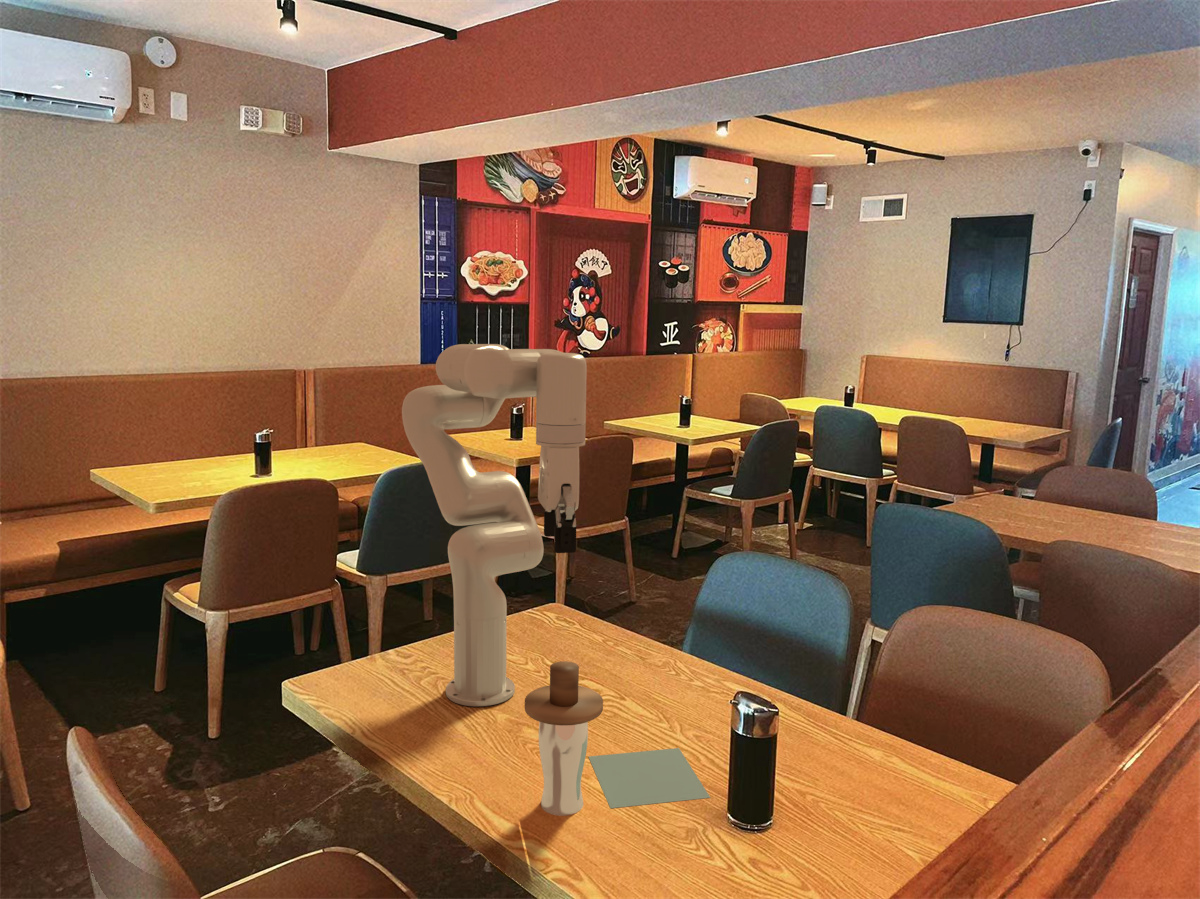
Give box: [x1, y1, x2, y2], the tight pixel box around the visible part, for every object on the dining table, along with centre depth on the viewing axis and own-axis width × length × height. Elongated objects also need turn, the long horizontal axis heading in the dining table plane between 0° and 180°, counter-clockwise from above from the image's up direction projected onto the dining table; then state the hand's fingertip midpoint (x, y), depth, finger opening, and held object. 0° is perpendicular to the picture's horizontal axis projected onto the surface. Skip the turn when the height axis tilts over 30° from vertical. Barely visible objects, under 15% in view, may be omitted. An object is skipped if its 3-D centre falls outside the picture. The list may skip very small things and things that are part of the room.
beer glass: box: [538, 721, 589, 817], centre depth 126 cm, size 7×7×15 cm
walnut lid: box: [524, 660, 604, 725], centre depth 124 cm, size 11×11×6 cm
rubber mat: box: [587, 747, 711, 810], centre depth 135 cm, size 15×15×1 cm
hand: (559, 543), depth 138 cm, fingers open, 9 cm apart
